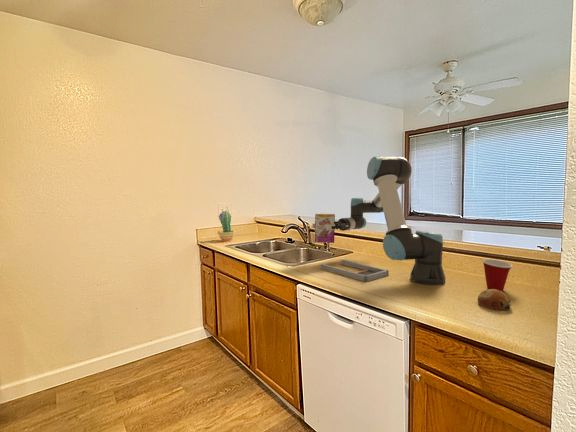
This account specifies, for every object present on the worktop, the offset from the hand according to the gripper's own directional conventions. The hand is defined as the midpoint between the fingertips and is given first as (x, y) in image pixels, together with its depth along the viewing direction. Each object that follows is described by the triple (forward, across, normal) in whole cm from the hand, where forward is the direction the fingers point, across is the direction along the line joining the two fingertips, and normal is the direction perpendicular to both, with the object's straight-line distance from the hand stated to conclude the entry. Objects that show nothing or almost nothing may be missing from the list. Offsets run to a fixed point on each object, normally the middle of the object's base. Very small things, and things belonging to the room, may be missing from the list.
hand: (319, 227), depth 174 cm
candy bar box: (-4, 0, -9) cm, 10 cm away
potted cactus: (+4, +108, -22) cm, 110 cm away
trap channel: (-4, -21, -22) cm, 31 cm away
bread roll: (-9, -85, -22) cm, 88 cm away
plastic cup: (-30, -78, -22) cm, 86 cm away
